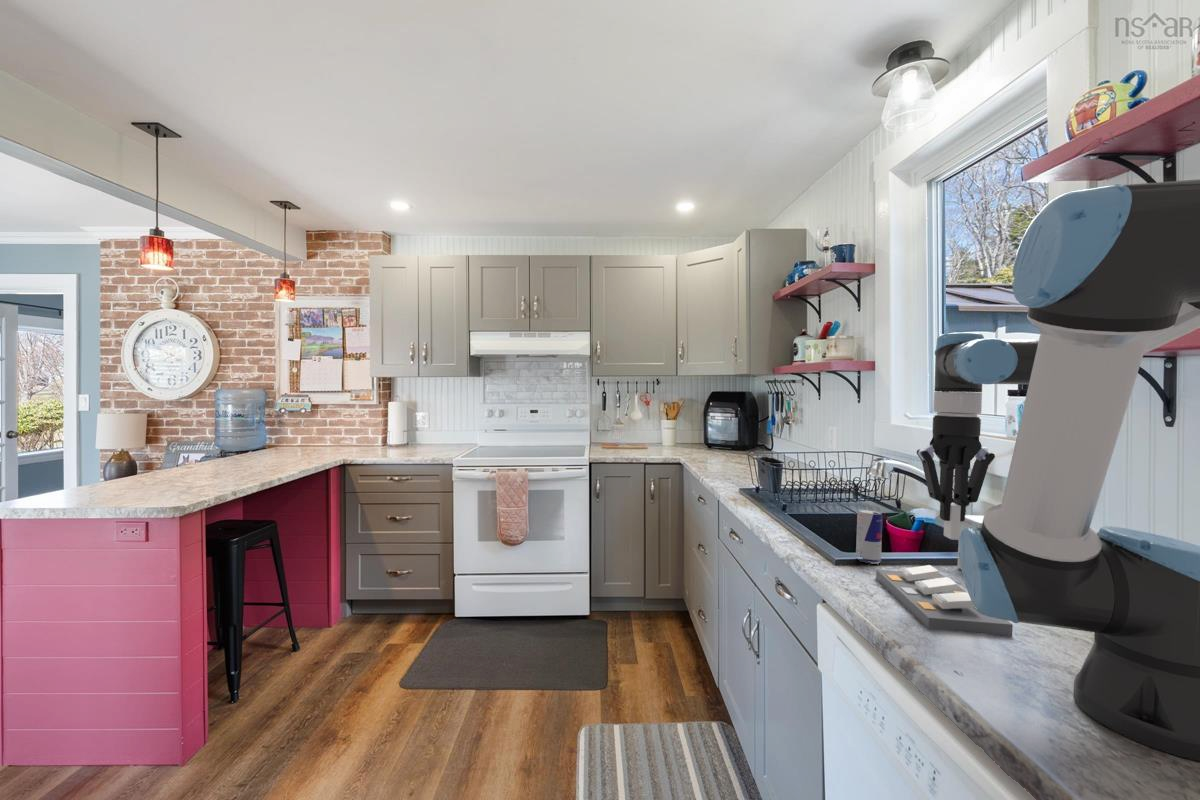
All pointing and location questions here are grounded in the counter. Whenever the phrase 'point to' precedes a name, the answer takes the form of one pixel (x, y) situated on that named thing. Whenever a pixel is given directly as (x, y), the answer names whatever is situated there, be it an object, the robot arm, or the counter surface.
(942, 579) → the switch
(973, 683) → the counter surface
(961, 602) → the switch
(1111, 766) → the counter surface
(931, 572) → the switch
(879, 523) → the energy drink
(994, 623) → the switch panel
